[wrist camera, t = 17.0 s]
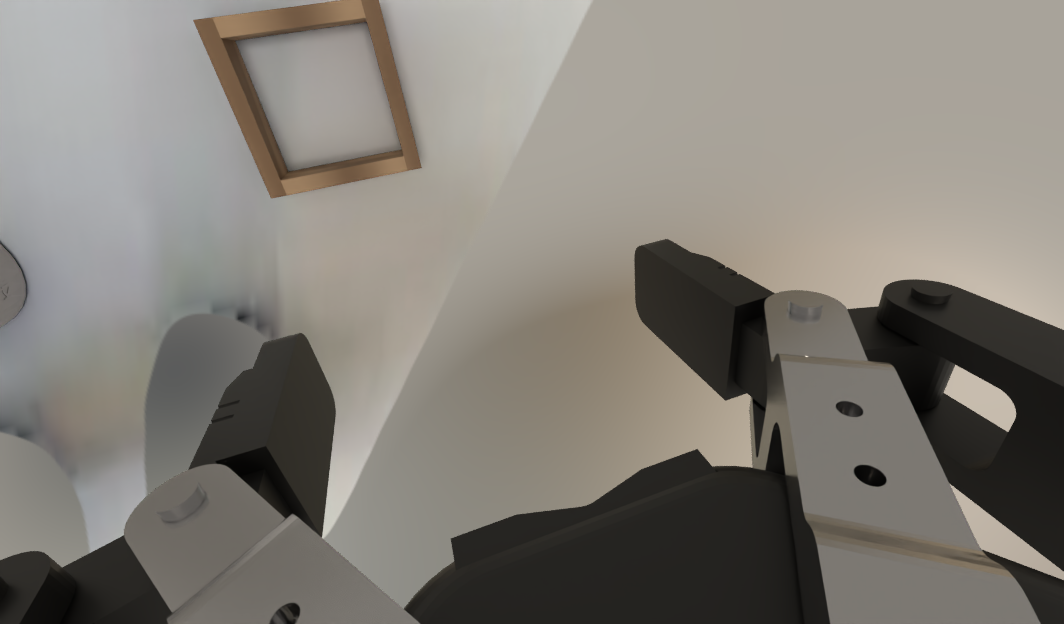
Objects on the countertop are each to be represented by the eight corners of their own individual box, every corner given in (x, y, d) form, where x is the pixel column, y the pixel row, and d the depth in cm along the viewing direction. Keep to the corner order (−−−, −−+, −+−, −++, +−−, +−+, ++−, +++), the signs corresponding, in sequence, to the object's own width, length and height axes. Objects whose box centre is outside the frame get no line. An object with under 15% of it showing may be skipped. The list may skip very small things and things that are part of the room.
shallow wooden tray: (279, 188, 33) (271, 198, 31) (210, 24, 28) (193, 20, 25) (418, 160, 35) (421, 167, 32) (377, 1, 30) (377, -5, 27)
